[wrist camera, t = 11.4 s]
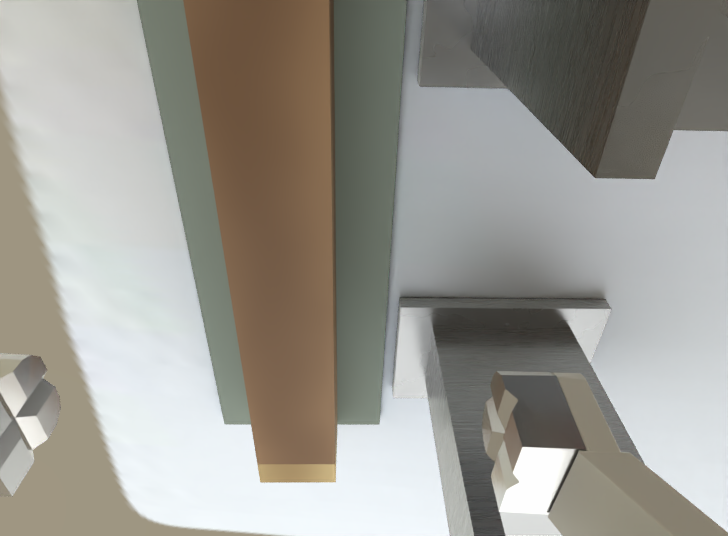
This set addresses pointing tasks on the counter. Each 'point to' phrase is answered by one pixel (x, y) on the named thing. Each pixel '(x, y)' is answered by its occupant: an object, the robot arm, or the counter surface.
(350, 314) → the mat
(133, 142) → the counter surface
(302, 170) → the rail
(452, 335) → the post
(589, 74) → the post
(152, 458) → the counter surface
